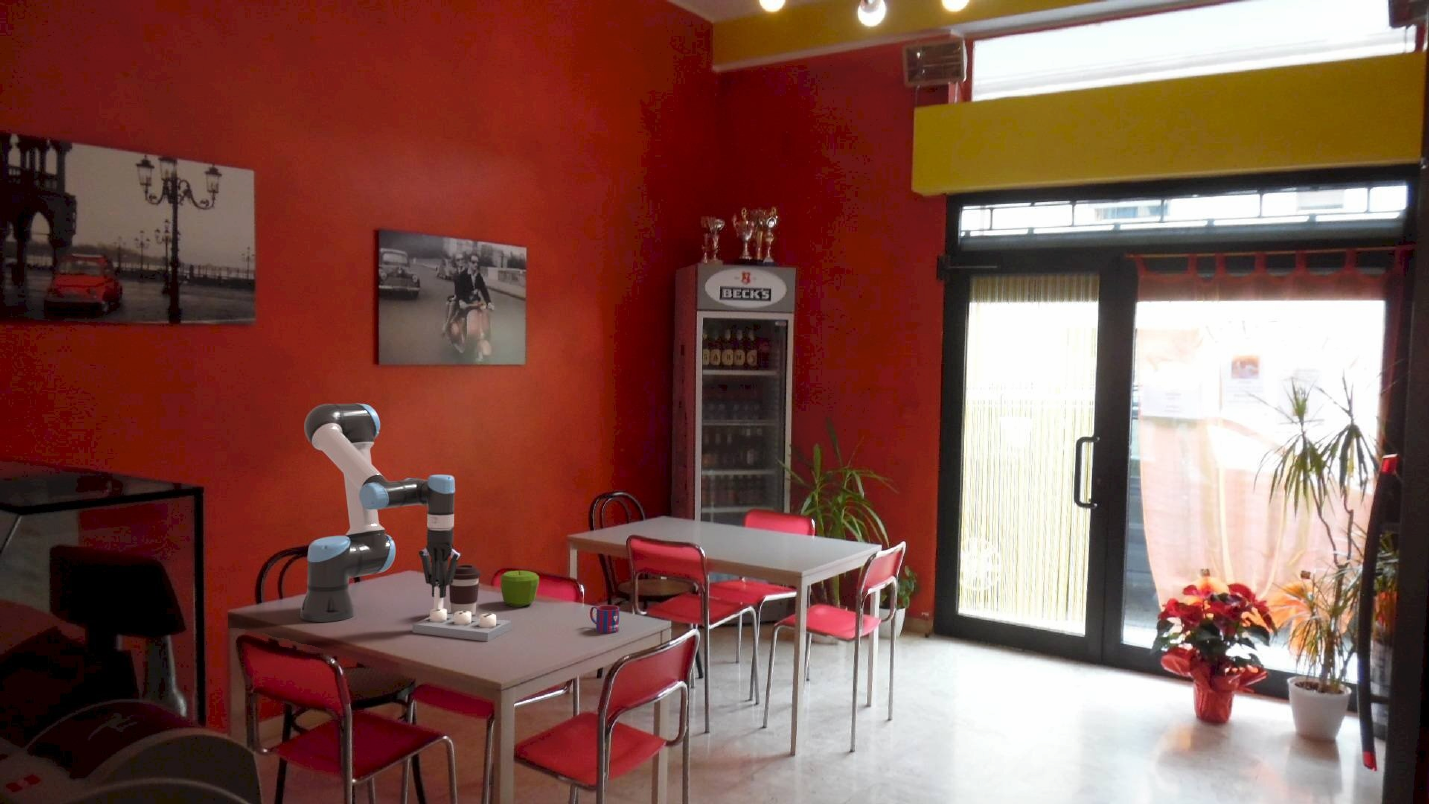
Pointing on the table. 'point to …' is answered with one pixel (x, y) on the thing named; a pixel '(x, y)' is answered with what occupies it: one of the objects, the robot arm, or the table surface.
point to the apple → (519, 587)
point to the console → (461, 629)
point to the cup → (606, 618)
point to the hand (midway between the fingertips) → (438, 608)
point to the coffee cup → (464, 589)
